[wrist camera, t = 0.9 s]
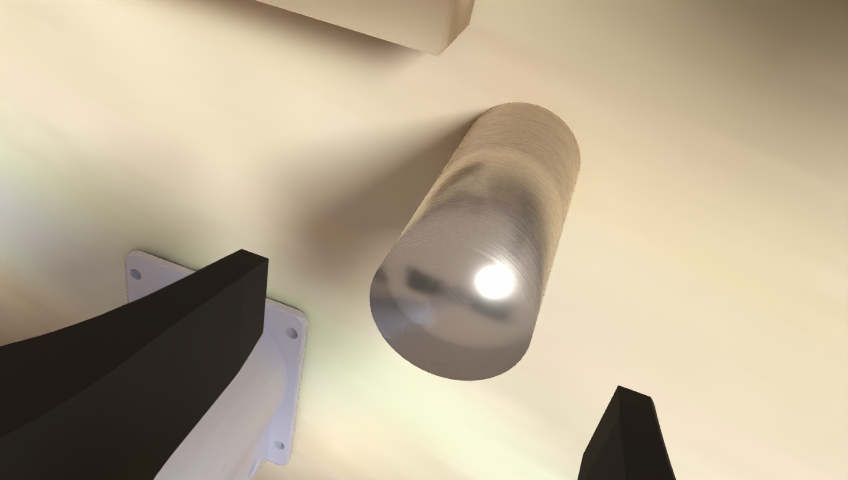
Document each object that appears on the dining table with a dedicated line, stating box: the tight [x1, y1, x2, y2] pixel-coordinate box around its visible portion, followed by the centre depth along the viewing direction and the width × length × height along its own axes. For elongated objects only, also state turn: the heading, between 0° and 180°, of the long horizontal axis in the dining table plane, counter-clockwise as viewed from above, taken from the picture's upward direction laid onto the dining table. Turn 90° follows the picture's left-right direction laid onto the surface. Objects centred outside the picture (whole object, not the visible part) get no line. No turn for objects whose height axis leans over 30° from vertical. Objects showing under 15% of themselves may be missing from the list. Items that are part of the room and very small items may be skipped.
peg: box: [370, 103, 580, 381], centre depth 18 cm, size 4×4×8 cm
